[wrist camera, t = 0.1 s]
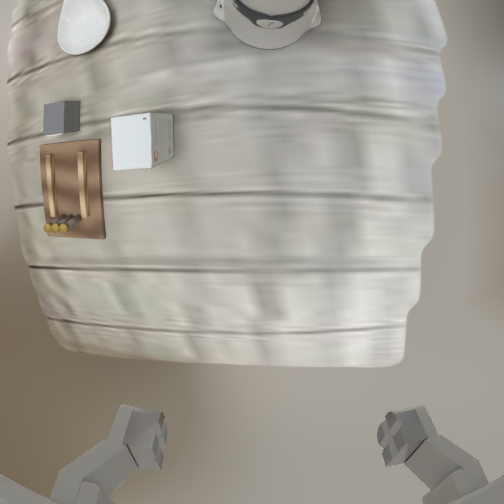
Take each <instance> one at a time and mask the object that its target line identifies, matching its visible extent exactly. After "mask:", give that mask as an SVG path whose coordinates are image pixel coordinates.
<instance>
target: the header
mask: <svg viewBox="0 0 504 504" xmlns="http://www.w3.org/2000/svg"><path fill="white" fill-rule="evenodd" d="M40 165H41V180H42V192H43V201H44V210H45V218H46V224H45V225H44V230H45V232H47V233H48V236H56V237H73V238H91V239H105V238H106V233H105V223H104V211H103V197H102V178H101V139H96V140H84V141H73V142H63V143H55V144H46V145H40Z"/></svg>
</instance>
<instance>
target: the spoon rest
mask: <svg viewBox="0 0 504 504" xmlns="http://www.w3.org/2000/svg"><path fill="white" fill-rule="evenodd" d="M110 22H111V15H110V11H109V9H108V6H107V5H106V3H105V2H104V1H103V0H64V4H63V8H62V11H61V16H60V20H59V26H58V42H59V45H60V47H61V49H62V50H63V51H64V52H66V53H68V54H71V55H79V54H83V53H86V52H88V51H90V50H92V49H93V48H95V47H96V46H97V45H98V44H99V43H100V42H101V41H102V40H103V39H104V37H105V36H106V34H107V32H108V30H109V27H110Z"/></svg>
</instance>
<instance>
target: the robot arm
mask: <svg viewBox="0 0 504 504" xmlns="http://www.w3.org/2000/svg"><path fill="white" fill-rule="evenodd" d="M220 6H222V8H220ZM214 16H215V17H216V18H217V19H219V20H221V21H222V22H224V23H226V24H227V25H228V27H229V28H230V30H231V31H232V33H233V34H234V35H235V36H236V37H237V38H238V39H240V40H241V41H243V42H244V43H246V44H248V45H251V46H253V47H257V48H262V49H277V48H282V47H285V46H288V45H290V44H292V43H294V42H295V41H297V40H298V39H299V38H300V37H301V36H302V35H303V34H304V33H305V32H306V31H308V30H310V29H313V28H315V27H317V26H319V25H320V24H321V14H320V9H319V4H318V0H217V3H216V5H215V8H214ZM385 417H386V420H385V421H384V422H382V423H381V424H380V426H379V428H378V432H377V438H378V442H379V445H380V446H382V447H383V448H384V450H383V453H382V455H383V458H384V461H385V465H386V466H392V465H397V464H401V463H405V465H406V466H407V467H408V468H409V469H410V470H411V471H412V472H413V473H414V474H415V475H416V476H417V477H418V478H419V479H420V480H421V481H423V482H424V483H425V484H426V485H427V486H428V487H429V488H430V489H431V491H430V492H428V493H427V494H426V495H425V496H424V497H423V498H422V501H423V504H504V475H503V476H501V477H500V478H498V479H496V480H494V481H492V482H491V483H488V481H487V478H486V476H485V474H484V471H483V469H482V467H481V465H480V463H479V460H477V459H476V458H474V457H473V456H471V455H470V454H468V453H467V452H465V451H464V450H462V449H461V448H459V447H458V446H457V445H455V444H454V443H452V442H451V441H449V440H448V439H446V438H445V437H444V436H442V435H440V436H439V435H438V433H437V431H436V429H435V426H434V424H433V423H432V420H431V418H430V416H429V414H428V412H427V410H426V408H425V407H424V406H417V407H412V408H406V409H400V410H395V411H390V412H388V413H387V415H386V416H385ZM164 418H165V416H164V413H163V412H161V411H155V410H148V409H143V408H138V407H133V406H128V405H121V406H120V407H119V409H118V412H117V415H116V418H115V421H114V423H113V426H112V429H111V432H110V435H109V438H108V440H102V441H101V442H100V443H98V444H97V445H96V446H94V447H93V448H91V449H90V450H89V451H87V452H86V453H85V454H83V455H82V456H80V457H79V458H77V459H76V460H75V461H73V462H72V463H70V464H69V465H67V466H66V467H64V468H63V469H61V470H60V472H59V474H58V477H57V480H56V483H55V485H54V488H53V491H52V494H51V497H50V500H49V499H47V498H45V497H43V496H41V495H38V494H36V493H35V492H32V491H30V490H28V489H27V488H25V487H23V486H21V485H19V484H17V483H15V482H13V481H12V480H10V479H8V478H6V477H5V476H3V475H1V474H0V504H115V503H114V502H113V501H112V500H111V499H110V498H109V496H110V495H111V494H112V493H114V492H115V491H116V490H117V489H118V488H119V487H120V486H121V485H122V484H123V483H124V482H125V481H126V480H127V479H128V478H129V477H130V476H132V475H133V473H135V471H136V470H138V467H140V468H145V469H151V470H158V471H161V469H162V463H163V459H164V455H163V452H162V449H163V448H165V447H166V443H167V433H168V431H167V424H166V423H164Z"/></svg>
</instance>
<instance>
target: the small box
mask: <svg viewBox="0 0 504 504" xmlns="http://www.w3.org/2000/svg"><path fill="white" fill-rule="evenodd" d="M111 141H112V159H113V170H114V171H115V170H132V169H151V168H153V167H155V166H157V165H159V164H161V163H163V162H165V161H167V160H169V159H171V158H173V157H174V145H173V114H167V113H142V114H134V115H127V116H120V117H113V118H111Z"/></svg>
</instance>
